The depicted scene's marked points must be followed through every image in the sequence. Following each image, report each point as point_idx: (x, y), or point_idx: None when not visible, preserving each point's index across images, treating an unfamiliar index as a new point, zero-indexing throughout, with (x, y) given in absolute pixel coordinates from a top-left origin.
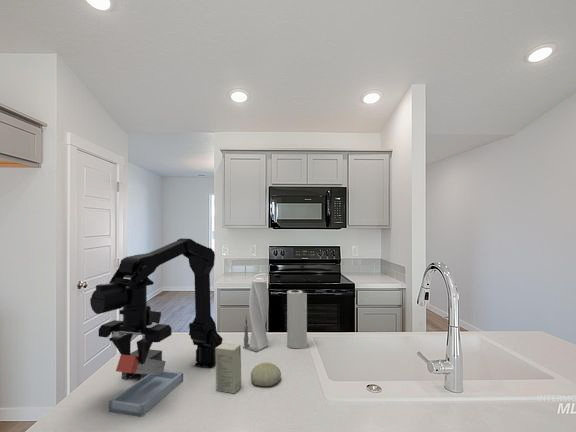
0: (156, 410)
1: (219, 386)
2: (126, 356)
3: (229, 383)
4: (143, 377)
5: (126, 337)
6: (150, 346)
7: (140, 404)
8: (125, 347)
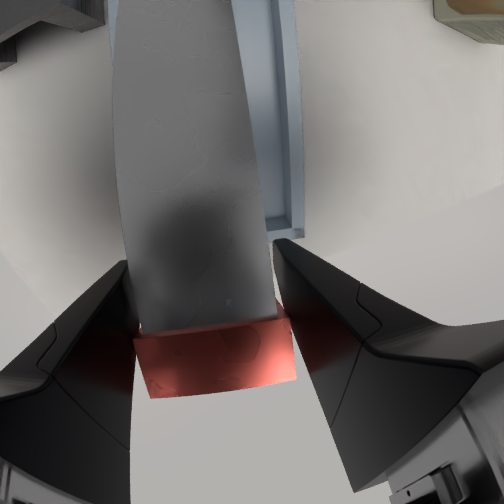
0: (318, 173)
1: (456, 24)
2: (207, 386)
3: (492, 39)
4: (86, 24)
5: (71, 473)
6: (398, 310)
7: (291, 230)
8: (111, 394)
